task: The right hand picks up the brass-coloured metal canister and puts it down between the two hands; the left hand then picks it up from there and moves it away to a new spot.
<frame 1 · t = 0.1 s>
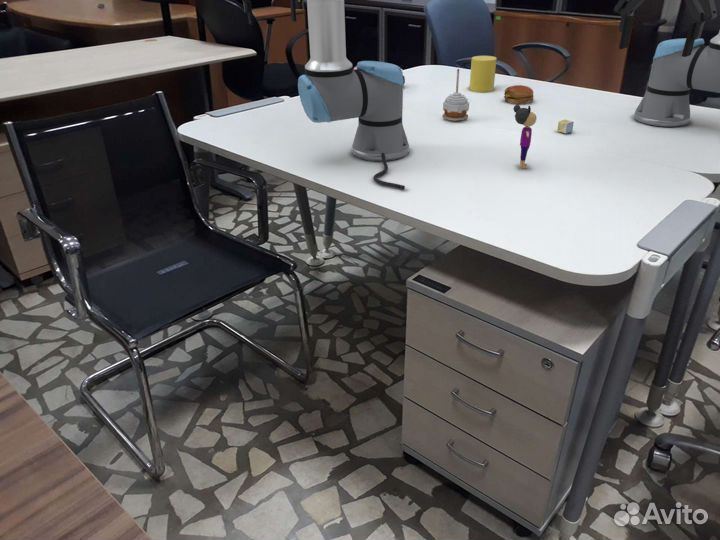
left hand: (272, 22, 175), 28 cm above the table, tool pointing down, fingers open, 13 cm apart
right hand: (653, 52, 123), 28 cm above the table, tool pointing down, fingers open, 13 cm apart
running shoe: (380, 91, 212), on the table
burger: (518, 101, 196), on the table
alphabet block: (564, 132, 166), on the table
toy: (518, 167, 143), on the table
cream topped cupcake: (455, 119, 179), on the table
canister: (481, 89, 211), on the table
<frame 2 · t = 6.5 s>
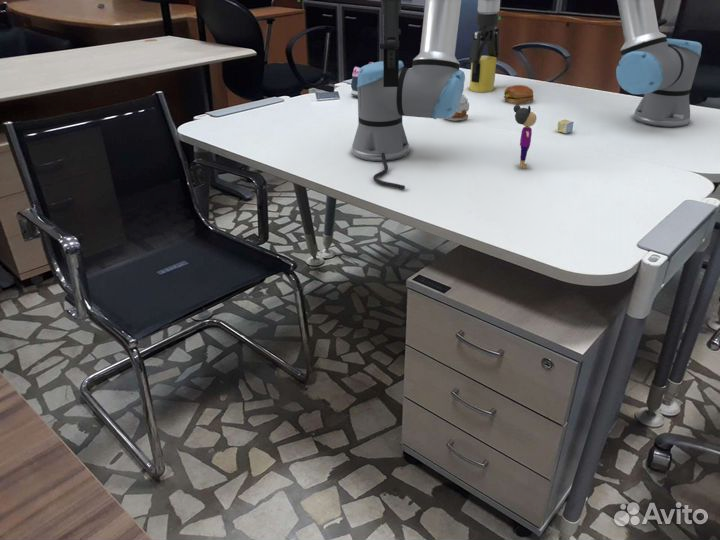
left hand: (390, 78, 109), 28 cm above the table, tool pointing down, fingers open, 13 cm apart
right hand: (482, 79, 209), 4 cm above the table, tool pointing down, fingers closed on canister, 9 cm apart
canister: (481, 89, 211), on the table, touching right hand
everything else where it was.
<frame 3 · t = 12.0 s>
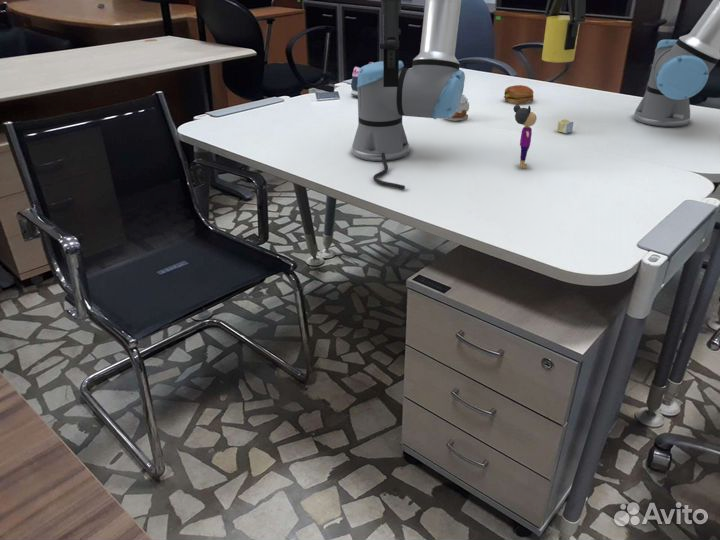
left hand: (390, 78, 109), 28 cm above the table, tool pointing down, fingers open, 13 cm apart
right hand: (559, 46, 161), 22 cm above the table, tool pointing down, fingers closed on canister, 9 cm apart
canister: (557, 59, 163), point 19 cm above the table, touching right hand
everything else where it was.
when the right hand's fingers open (5 cm above the table, at t = 17.6 s): canister drops 2 cm, on the table.
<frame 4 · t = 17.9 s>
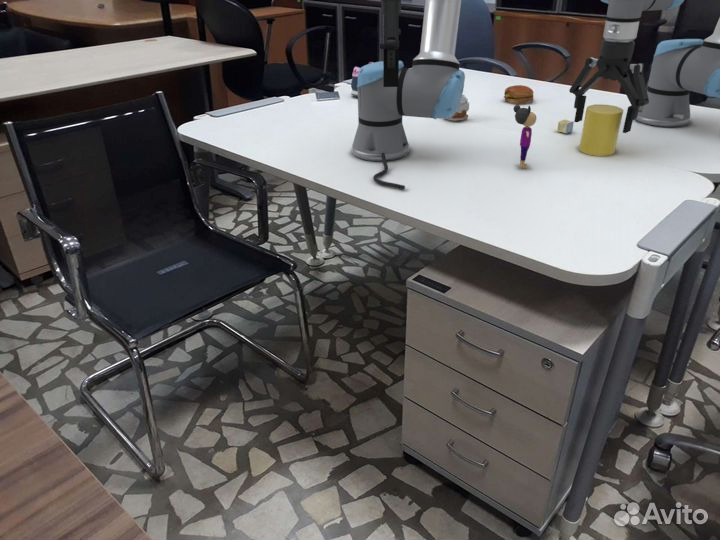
left hand: (390, 78, 109), 28 cm above the table, tool pointing down, fingers open, 13 cm apart
right hand: (601, 126, 149), 6 cm above the table, tool pointing down, fingers open, 13 cm apart
canister: (596, 150, 152), on the table
everything else where it was.
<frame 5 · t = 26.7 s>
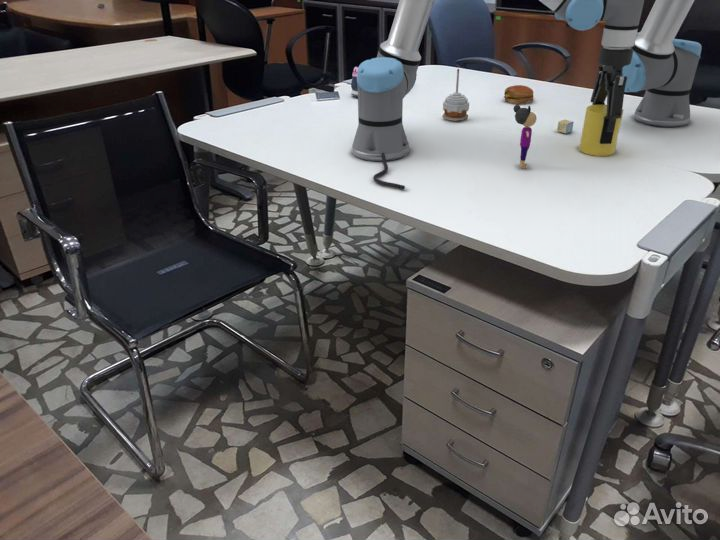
left hand: (599, 137, 150), 4 cm above the table, tool pointing down, fingers closed on canister, 9 cm apart
canister: (596, 150, 152), on the table, touching left hand
everything else where it was.
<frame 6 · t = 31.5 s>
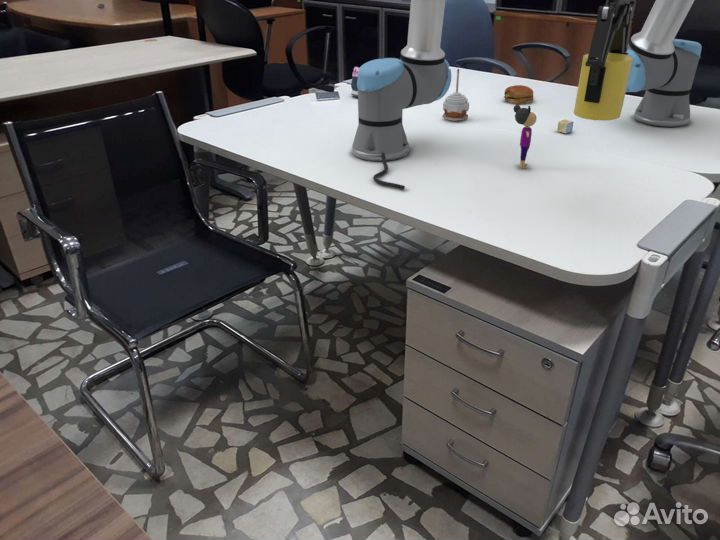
left hand: (600, 96, 113), 23 cm above the table, tool pointing down, fingers closed on canister, 9 cm apart
canister: (596, 114, 115), point 19 cm above the table, touching left hand
everything else where it was.
when the left hand's fingers open (5 cm above the table, at t = 36.4 s): canister drops 2 cm, on the table.
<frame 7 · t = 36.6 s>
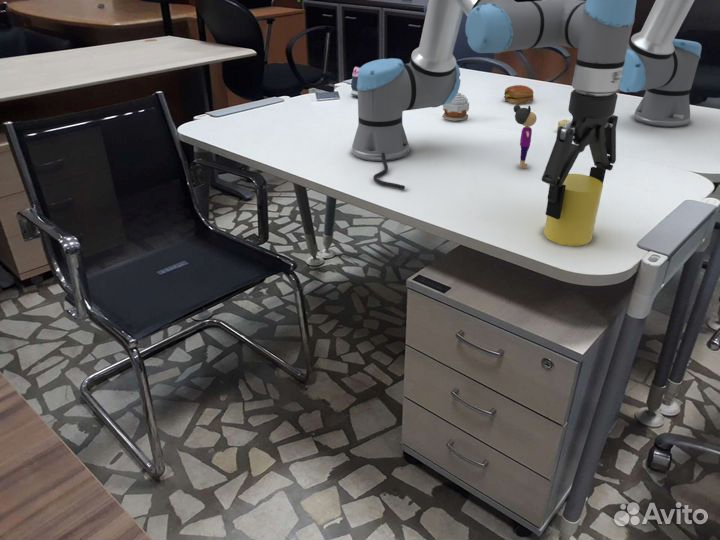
left hand: (572, 208, 108), 6 cm above the table, tool pointing down, fingers open, 11 cm apart
canister: (567, 235, 111), on the table
everything else where it was.
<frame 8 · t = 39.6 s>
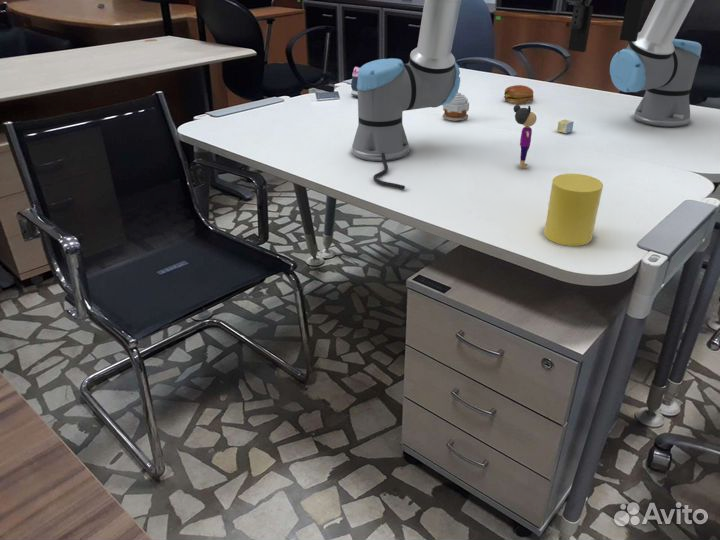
left hand: (603, 45, 93), 35 cm above the table, tool pointing down, fingers open, 13 cm apart
nothing on the table moved.
at the end: canister inside the target area (0.0 cm from its centre), on the table; canister tilted 0°; the two hands never held the canister at the same time; the left hand is holding nothing; the right hand is holding nothing; canister at rest at the end (0.0 cm/s) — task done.
